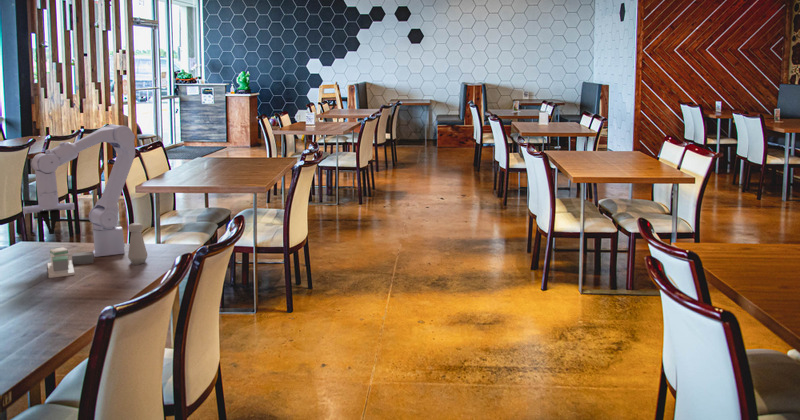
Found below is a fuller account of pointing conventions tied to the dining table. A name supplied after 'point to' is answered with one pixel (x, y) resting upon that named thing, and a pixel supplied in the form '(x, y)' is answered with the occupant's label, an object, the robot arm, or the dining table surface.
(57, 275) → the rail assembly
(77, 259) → the relay
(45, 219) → the robot arm
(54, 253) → the block
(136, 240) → the salt shaker
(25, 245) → the dining table surface
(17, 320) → the dining table surface
